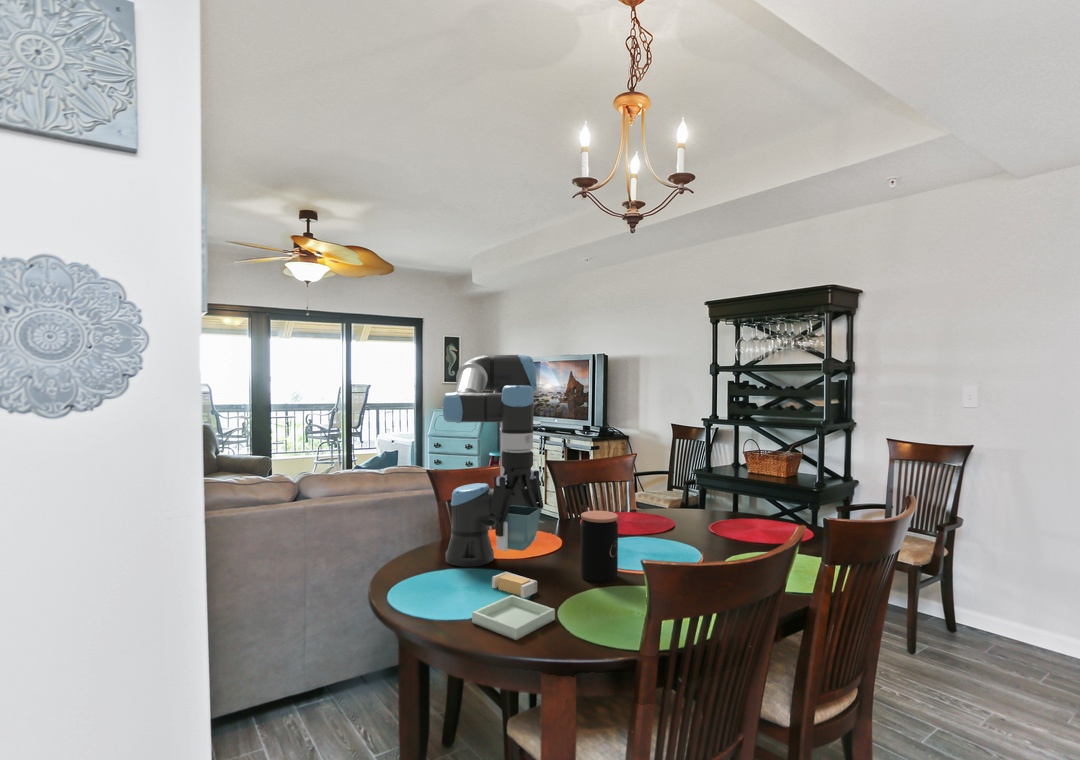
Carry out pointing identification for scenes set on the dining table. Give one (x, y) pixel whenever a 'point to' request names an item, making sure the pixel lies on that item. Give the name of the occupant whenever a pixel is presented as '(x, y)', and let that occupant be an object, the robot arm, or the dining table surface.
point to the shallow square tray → (513, 616)
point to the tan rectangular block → (511, 583)
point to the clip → (525, 589)
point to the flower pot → (522, 526)
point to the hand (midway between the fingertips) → (516, 544)
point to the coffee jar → (599, 546)
